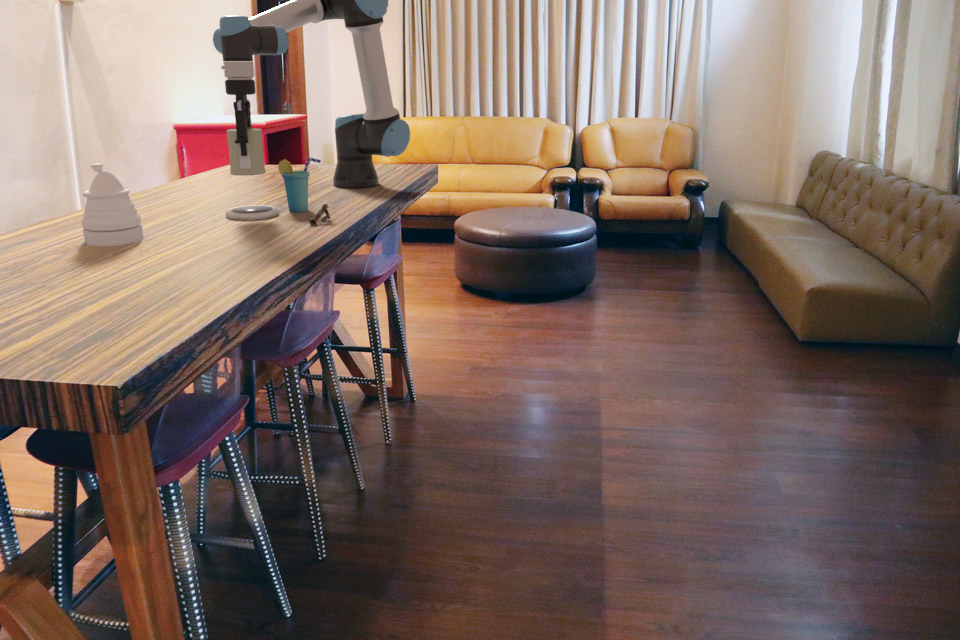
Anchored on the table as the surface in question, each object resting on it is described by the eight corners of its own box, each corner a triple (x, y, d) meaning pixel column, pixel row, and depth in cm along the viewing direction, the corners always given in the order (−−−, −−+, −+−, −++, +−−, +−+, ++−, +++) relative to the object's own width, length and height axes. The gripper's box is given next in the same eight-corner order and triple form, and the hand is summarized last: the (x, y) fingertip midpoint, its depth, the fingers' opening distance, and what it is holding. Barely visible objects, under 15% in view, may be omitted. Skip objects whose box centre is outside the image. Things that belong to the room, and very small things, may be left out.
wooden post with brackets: (333, 216, 216) (329, 202, 213) (319, 233, 211) (314, 219, 208) (328, 215, 217) (323, 201, 214) (313, 233, 212) (308, 218, 209)
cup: (330, 209, 230) (326, 156, 225) (317, 214, 223) (313, 159, 218) (286, 207, 234) (282, 154, 229) (272, 212, 227) (267, 157, 222)
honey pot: (72, 244, 190) (59, 166, 184) (114, 233, 201) (103, 160, 195) (115, 248, 185) (103, 169, 180) (155, 237, 197) (145, 162, 191)
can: (270, 171, 223) (266, 126, 219) (258, 175, 214) (254, 129, 210) (238, 170, 224) (233, 126, 220) (224, 175, 215) (220, 129, 211)
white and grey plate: (280, 209, 230) (279, 204, 230) (276, 219, 217) (276, 213, 217) (229, 211, 228) (228, 205, 228) (222, 221, 215) (222, 215, 214)
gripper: (229, 77, 221) (237, 161, 228) (219, 80, 201) (228, 171, 208) (258, 77, 222) (265, 160, 229) (250, 79, 202) (258, 170, 209)
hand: (247, 165), depth 218 cm, fingers closed on can, 9 cm apart
